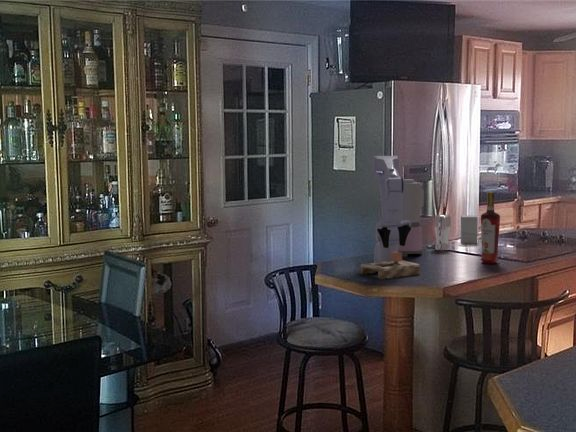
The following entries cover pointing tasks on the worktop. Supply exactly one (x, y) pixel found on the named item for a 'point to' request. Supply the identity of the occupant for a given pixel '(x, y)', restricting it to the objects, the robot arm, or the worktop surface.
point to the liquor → (490, 232)
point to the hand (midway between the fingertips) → (394, 246)
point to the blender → (412, 216)
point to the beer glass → (442, 231)
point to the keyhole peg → (395, 257)
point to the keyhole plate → (391, 269)
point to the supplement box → (469, 228)
